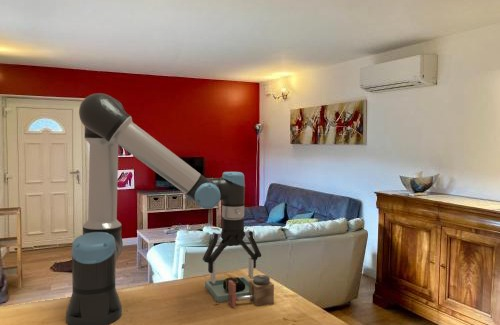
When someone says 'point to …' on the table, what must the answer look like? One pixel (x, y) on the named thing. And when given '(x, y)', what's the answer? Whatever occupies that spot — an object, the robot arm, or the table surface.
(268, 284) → the pulley block
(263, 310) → the table surface
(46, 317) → the table surface
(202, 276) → the table surface
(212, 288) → the tray
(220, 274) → the table surface
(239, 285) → the tape measure
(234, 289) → the lock pin
